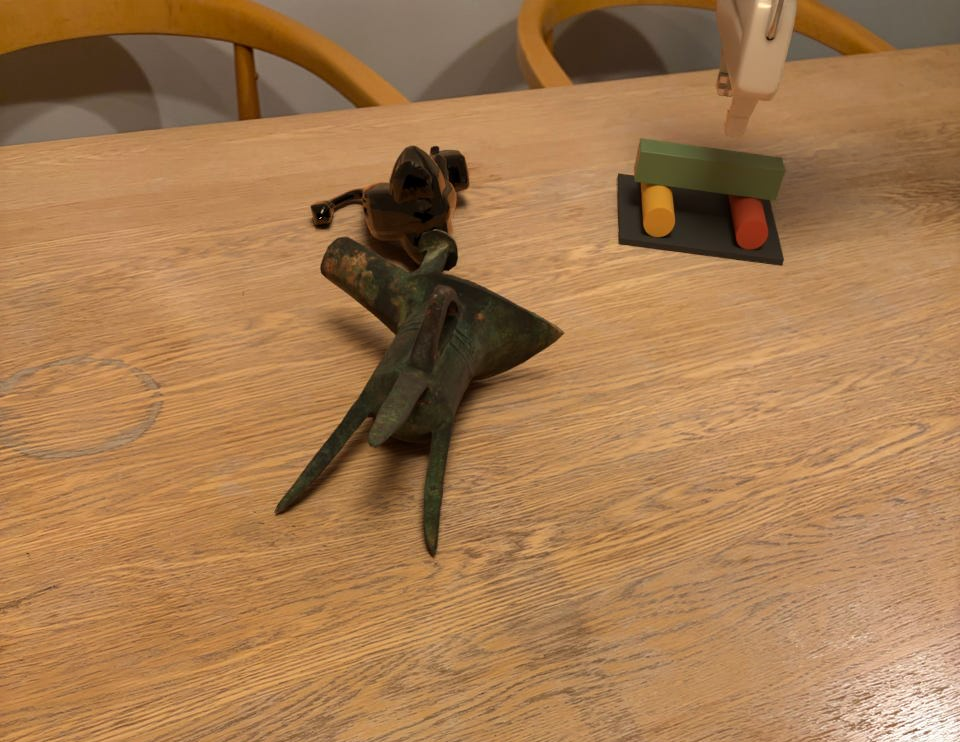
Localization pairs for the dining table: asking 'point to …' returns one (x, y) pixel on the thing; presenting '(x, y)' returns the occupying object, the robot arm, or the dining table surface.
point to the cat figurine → (408, 197)
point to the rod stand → (697, 222)
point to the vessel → (424, 353)
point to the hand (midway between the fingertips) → (728, 113)
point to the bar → (708, 169)
